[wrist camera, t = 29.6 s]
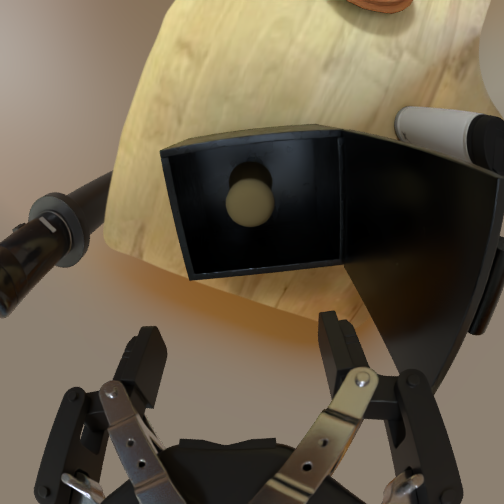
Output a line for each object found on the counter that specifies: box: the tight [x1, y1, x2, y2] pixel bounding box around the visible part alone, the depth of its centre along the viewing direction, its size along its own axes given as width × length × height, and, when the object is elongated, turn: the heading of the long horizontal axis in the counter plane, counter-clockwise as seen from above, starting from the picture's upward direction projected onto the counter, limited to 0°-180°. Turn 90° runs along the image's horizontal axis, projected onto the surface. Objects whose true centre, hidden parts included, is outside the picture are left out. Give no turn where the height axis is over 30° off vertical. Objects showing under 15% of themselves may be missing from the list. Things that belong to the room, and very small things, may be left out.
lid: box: [343, 130, 504, 395], centre depth 18 cm, size 19×15×6 cm
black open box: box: [160, 124, 346, 281], centre depth 33 cm, size 18×15×13 cm
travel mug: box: [394, 106, 504, 176], centre depth 25 cm, size 6×7×20 cm
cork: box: [226, 161, 275, 227], centre depth 33 cm, size 6×6×11 cm
